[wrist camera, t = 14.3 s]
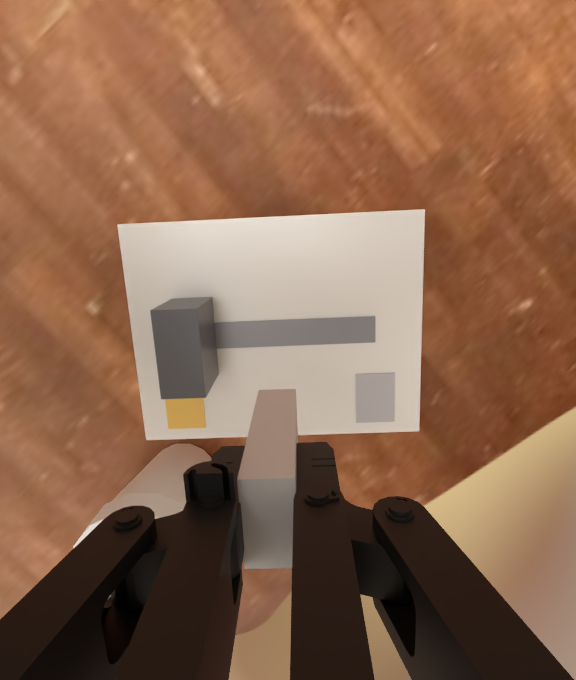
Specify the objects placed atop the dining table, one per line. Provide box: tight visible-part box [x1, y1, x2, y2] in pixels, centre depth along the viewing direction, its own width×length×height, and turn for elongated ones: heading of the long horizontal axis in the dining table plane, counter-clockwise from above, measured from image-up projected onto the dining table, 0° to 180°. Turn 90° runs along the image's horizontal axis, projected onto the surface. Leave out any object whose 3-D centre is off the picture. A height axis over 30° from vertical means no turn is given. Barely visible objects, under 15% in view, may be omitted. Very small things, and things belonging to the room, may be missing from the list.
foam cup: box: [73, 444, 212, 599], centre depth 37 cm, size 10×9×13 cm
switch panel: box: [117, 209, 425, 440], centre depth 36 cm, size 17×22×6 cm
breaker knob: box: [150, 297, 219, 399], centre depth 31 cm, size 6×3×5 cm, turn 3°
